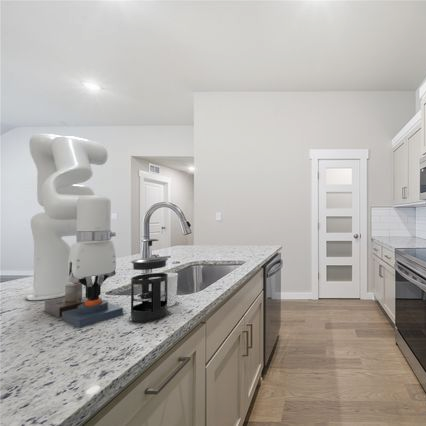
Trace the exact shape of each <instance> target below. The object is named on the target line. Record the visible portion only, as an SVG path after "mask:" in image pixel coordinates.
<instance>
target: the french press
mask: <svg viewBox="0 0 426 426" xmlns="http://www.w3.org/2000/svg"><path fill="white" fill-rule="evenodd" d="M158 241H160V240H159V239H158V238H157V239H156V238H146V239H142V240H141V242H147V243H148V247H149V257H144V258H143V257H142V258H138V259H133V260H131V264H132V268H133V269H132V270H136V271H148V270H149V271H148V273H144V274H137V275H135V276H133V277H131V279H130V317H129V322H130V323H132V324H146V323H153V322H157V321H159V320H162V319H164V318H165V317H167V316H168V315H169V311H168V307H167V279H168V274H166V273H167V272H152V270H157V269H161V268H165V267H166V266H167V261H168V260H169V259H168V257H158V256H155V257H153V256H152V246H153V242H158ZM153 277H161V278H156V279H151V278H153ZM163 281H165V292H164V291H161V282H163ZM135 285H136V286H141V292H140V293H138V294H134V290H135V289H134V286H135ZM164 296H165V301H161V298H162V297H164ZM134 302H138V304H135V305H134ZM139 302H140V303H139Z"/></svg>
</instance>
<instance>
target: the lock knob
mask: <svg viewBox="0 0 426 426" xmlns="http://www.w3.org/2000/svg"><path fill="white" fill-rule="evenodd" d="M82 294H83V284H81V283H70V284H66V285H65V296H64V297H65V301H67V302H69V301H76V300H80V299H82Z"/></svg>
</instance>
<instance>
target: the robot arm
mask: <svg viewBox="0 0 426 426" xmlns="http://www.w3.org/2000/svg"><path fill="white" fill-rule="evenodd" d="M28 146H29V152H30V156H31V158H32V160H33V163H34V165H35V167H36V170H37V171H36V173H37V177H36V178H37V179H36V183H37V184H36V197H37V199H36V200H37V202H38V204H39V205H40V206H41V207H43V210H44V211H42V212H38V213H35V214H34V215H32V217H31V218H30V228H31V229H30V230H31V233H32V238H33V292H32V293H30V294H28V295H27V296H26V299H27V300H28V301H46V300H53V299H59V298H64V297H65V285H66V284H70V283H81V284H82V286H84V287H85V293H86V294H85V296H86V298H87V299H89V300H91V301H92V300H94V299H99V297H100V296H101V295H102V294H101V291H102V290H101V289H102V285H103V284H104V282H105V281H106V280H107V279H108V278H112V277H114V276H116V275H117V272H116V269H117V256H116V255H117V254H116V249H115V243H114V241H113V240H111V239H112V238H113V237H116V235H117V234H116V232H115V231H112V230H111V220H112V219H111V215H112V213H111V212H112V211H111V209H112V202H111V199H110V197H109V196H106V195H95V192H94V190H93V188H91V187H90V186H89V185H88V186H87V185H83V184H81V183H85V182H87V181H89V180H90V179H91V178H92V177H93V173H94V172H93V168H92V165H95V166H103V165H105V164H106V163H107V161H108V158H109V154H108V150H107V148H106V147H105V145H104V144H103V143H102V142H100V141H95V140H90V139H85V138H80V137H77V136H68V135H57V134H52V133H51V134H50V133H35V134H32V135H31V137H30V139H29V142H28ZM65 237H75V238H76V240H75V242H72V243H71V246H70V245H69V243H68V242H66V241H65V240H64V239H63V238H65ZM93 277H94V280H93Z"/></svg>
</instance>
